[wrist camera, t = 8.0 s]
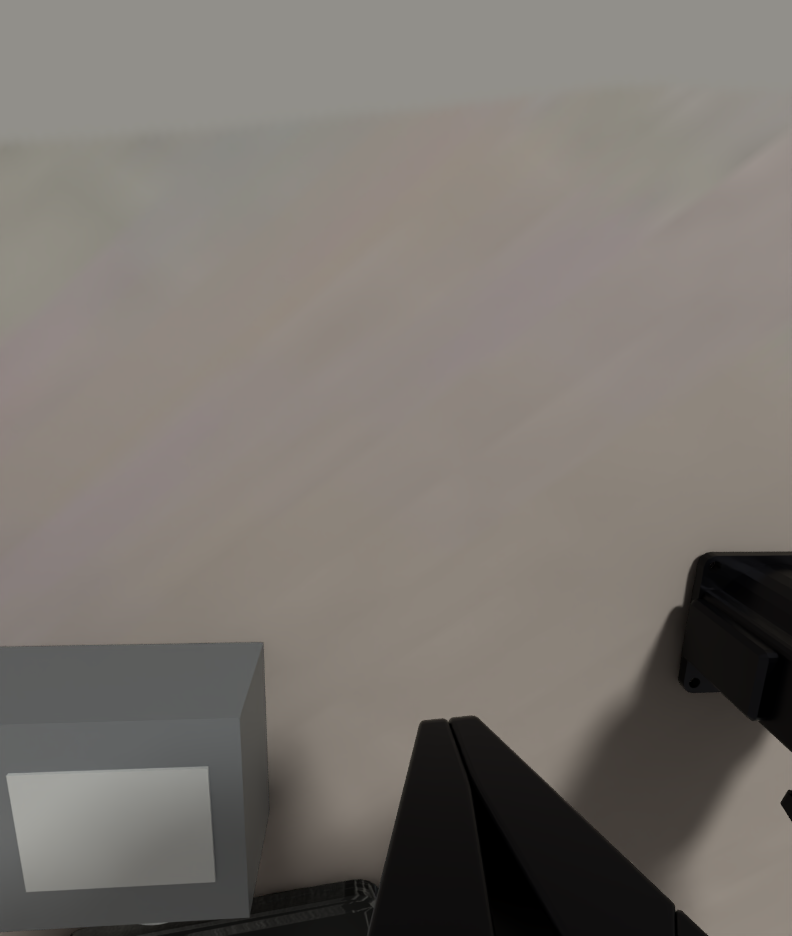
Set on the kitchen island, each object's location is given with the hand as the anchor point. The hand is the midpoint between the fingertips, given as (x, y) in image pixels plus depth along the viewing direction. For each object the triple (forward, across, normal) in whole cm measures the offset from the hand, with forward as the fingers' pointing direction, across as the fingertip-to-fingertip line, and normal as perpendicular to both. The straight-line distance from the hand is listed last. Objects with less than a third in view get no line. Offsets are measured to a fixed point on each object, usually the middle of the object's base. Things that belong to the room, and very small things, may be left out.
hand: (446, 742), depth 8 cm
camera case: (+13, +11, +10) cm, 20 cm away
